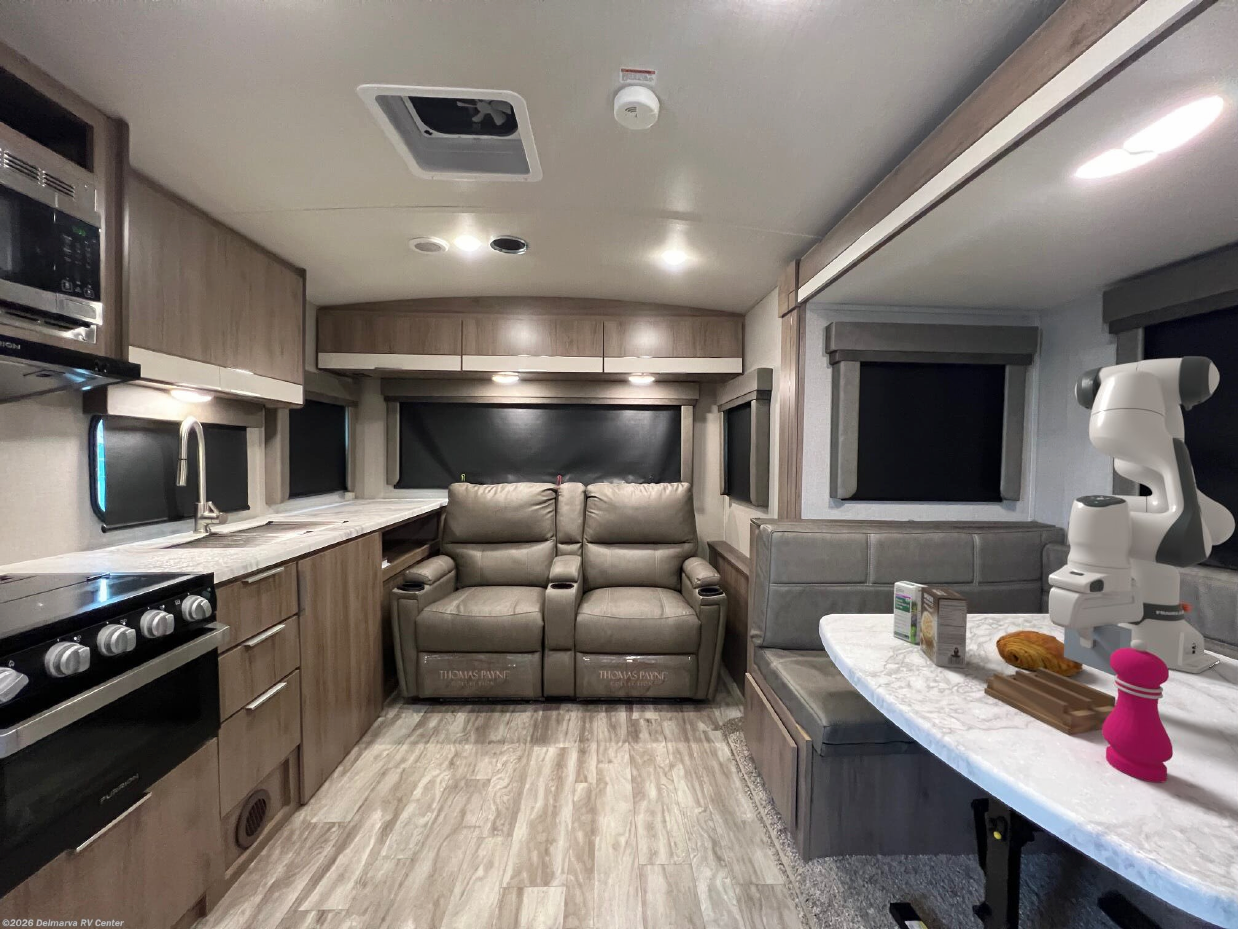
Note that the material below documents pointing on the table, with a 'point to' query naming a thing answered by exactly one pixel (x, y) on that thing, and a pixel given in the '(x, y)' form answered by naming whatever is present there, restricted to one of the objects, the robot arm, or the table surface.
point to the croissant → (1036, 652)
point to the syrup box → (907, 611)
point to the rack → (1053, 699)
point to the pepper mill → (1138, 715)
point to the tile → (1097, 646)
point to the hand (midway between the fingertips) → (1096, 645)
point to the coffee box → (943, 626)
